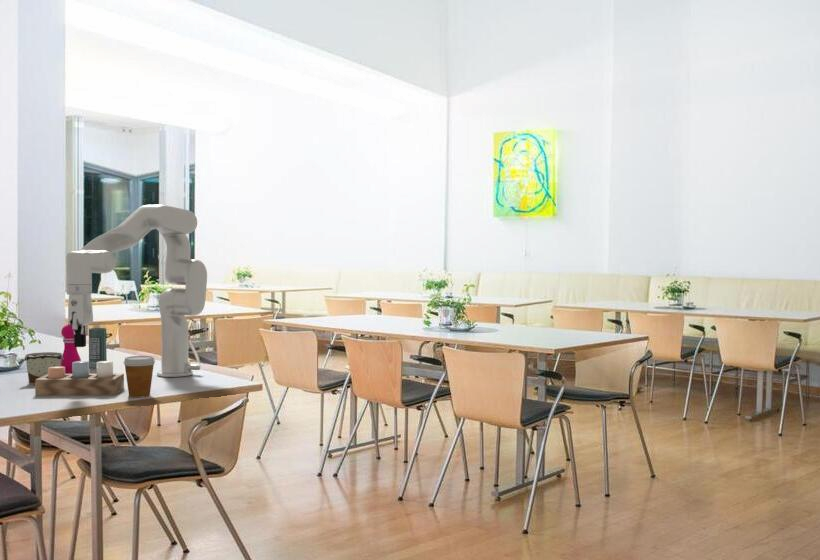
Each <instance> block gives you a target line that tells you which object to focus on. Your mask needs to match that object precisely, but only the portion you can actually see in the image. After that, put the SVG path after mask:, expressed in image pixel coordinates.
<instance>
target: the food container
mask: <svg viewBox="0 0 820 560" xmlns="http://www.w3.org/2000/svg"><path fill="white" fill-rule="evenodd" d="M62 359H63V352H56V351H54V352H53V351H49V352H48V351H47V352H46V351H45V352H44V351H43V352H32V353H27V354H25V356H24V360H23V362H26V370H27V379H28V385H35V379H38V378H40V377H42V376H45V375H47V374H48V368H49V367H61V361H62ZM63 360H64V359H63Z"/></svg>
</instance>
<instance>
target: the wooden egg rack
mask: <svg viewBox="0 0 820 560" xmlns="http://www.w3.org/2000/svg"><path fill="white" fill-rule="evenodd" d="M34 386H35V390H34V391H35V392H34V393H35V394H34V395H35V396H115V395H117V394H119V392H121V391H123V390H124V388H125V373H113V377H112V378H97V373H89V377H88V378H72V374H65V377H64V378H48V374H47V375H45V376H42V377H40V378H38V379H35V384H34Z"/></svg>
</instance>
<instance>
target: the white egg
mask: <svg viewBox="0 0 820 560" xmlns="http://www.w3.org/2000/svg"><path fill="white" fill-rule="evenodd" d="M95 374H97V378H112V377H113V374H114V361H111V360H107V361H100V362H96V373H95Z"/></svg>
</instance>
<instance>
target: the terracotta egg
mask: <svg viewBox="0 0 820 560" xmlns="http://www.w3.org/2000/svg"><path fill="white" fill-rule="evenodd" d="M64 377H65V367H49V368H48V378H64Z"/></svg>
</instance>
